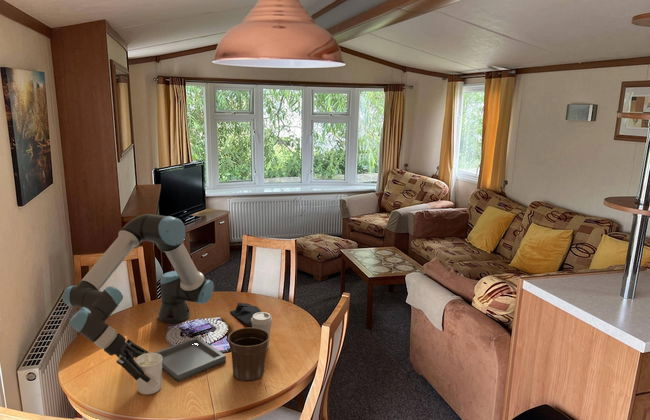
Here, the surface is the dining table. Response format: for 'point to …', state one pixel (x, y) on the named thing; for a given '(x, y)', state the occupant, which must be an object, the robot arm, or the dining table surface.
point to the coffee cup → (262, 322)
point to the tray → (189, 358)
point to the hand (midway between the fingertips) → (158, 377)
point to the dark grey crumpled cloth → (245, 312)
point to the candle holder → (150, 371)
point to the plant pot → (248, 352)
